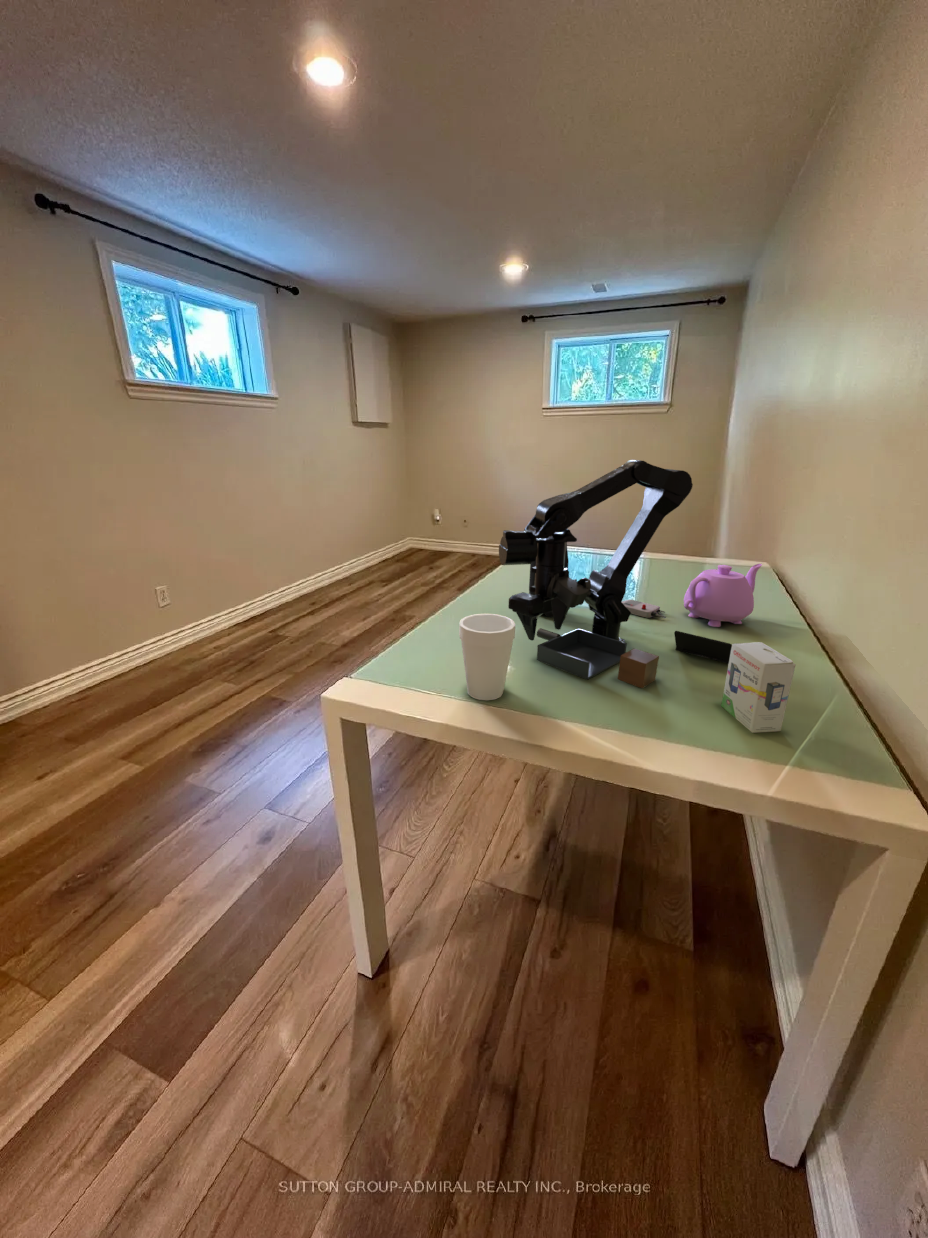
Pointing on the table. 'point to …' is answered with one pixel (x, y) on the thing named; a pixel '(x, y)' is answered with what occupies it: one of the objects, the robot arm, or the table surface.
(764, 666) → the ink box
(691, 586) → the teapot
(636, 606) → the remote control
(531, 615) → the robot arm
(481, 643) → the foam cup
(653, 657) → the block
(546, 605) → the portable speaker
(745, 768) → the table surface
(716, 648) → the handheld gaming console
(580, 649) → the tray
